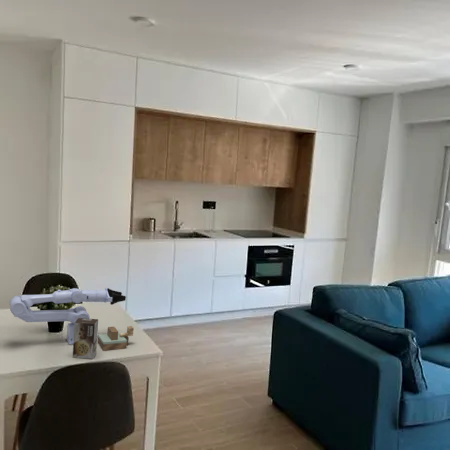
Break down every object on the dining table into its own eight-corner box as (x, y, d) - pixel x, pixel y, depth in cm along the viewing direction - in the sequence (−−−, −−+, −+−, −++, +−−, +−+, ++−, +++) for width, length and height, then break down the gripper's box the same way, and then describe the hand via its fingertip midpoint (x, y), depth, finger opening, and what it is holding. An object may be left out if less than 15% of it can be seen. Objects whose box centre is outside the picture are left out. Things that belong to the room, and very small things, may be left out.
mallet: (120, 337, 213) (121, 329, 213) (119, 335, 216) (119, 327, 215) (133, 336, 216) (133, 328, 216) (131, 333, 219) (131, 326, 218)
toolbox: (102, 350, 206) (103, 342, 206) (97, 342, 215) (98, 334, 214) (130, 347, 213) (130, 339, 212) (123, 340, 221) (124, 332, 221)
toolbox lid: (103, 344, 206) (104, 333, 205) (97, 336, 214) (98, 326, 214) (126, 342, 211) (127, 332, 211) (120, 334, 220) (121, 324, 219)
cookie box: (96, 353, 203) (99, 319, 201) (92, 359, 196) (95, 323, 195) (76, 351, 202) (78, 317, 201) (71, 357, 196) (74, 322, 194)
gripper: (99, 291, 209) (128, 291, 216) (93, 284, 222) (120, 285, 228) (98, 306, 210) (126, 306, 216) (91, 298, 222) (119, 298, 229)
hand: (123, 296), depth 222 cm, fingers open, 7 cm apart
